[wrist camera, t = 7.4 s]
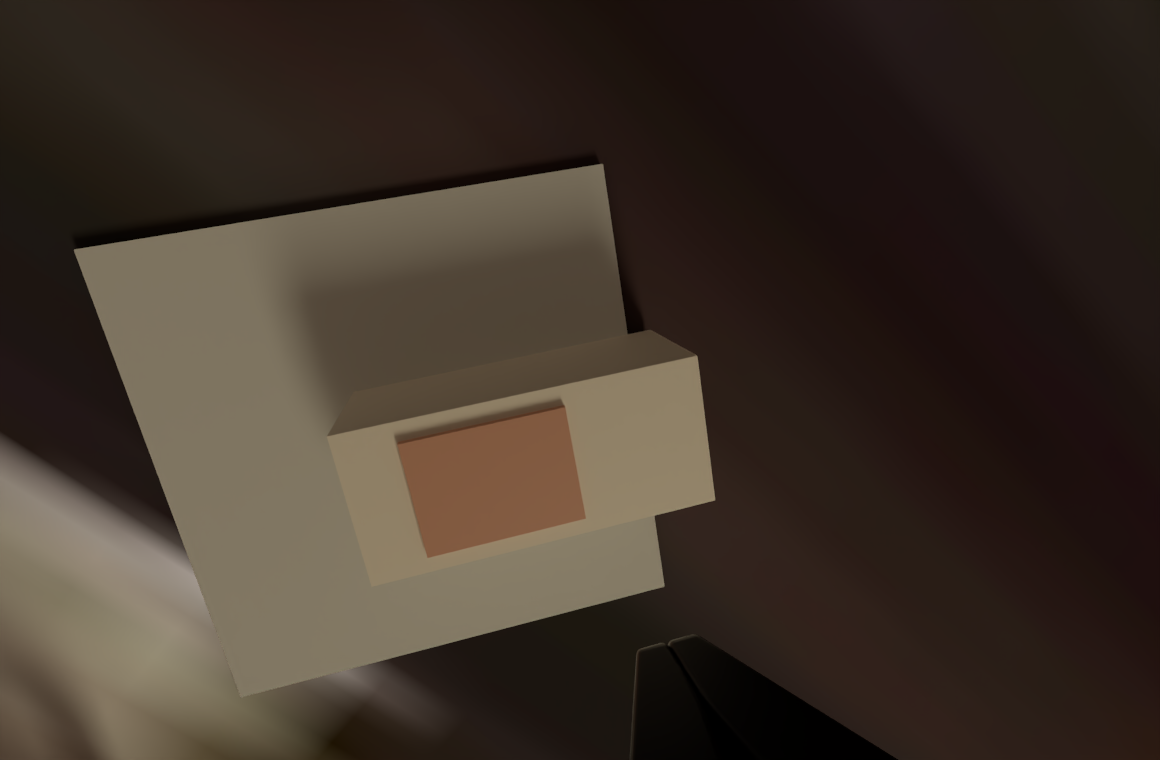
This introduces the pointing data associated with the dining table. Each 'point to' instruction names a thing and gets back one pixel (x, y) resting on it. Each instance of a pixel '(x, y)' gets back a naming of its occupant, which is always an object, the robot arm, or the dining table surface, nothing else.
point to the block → (521, 452)
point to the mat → (322, 389)
